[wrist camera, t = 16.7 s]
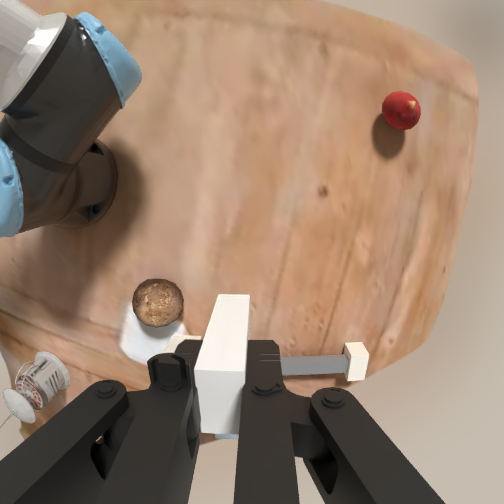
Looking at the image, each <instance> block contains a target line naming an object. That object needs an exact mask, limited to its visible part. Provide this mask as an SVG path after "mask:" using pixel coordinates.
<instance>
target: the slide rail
mask: <svg viewBox="0 0 504 504" xmlns="http://www.w3.org/2000/svg"><path fill="white" fill-rule="evenodd" d="M185 339H194V340H202V338H201V336H185V335H172V336H171V338H170V340H169V342H168V344H167V346H166V348H165V349H164V351H163V353H174V352H175V349H176V347H177V345H178V344H179V343H181V342H182V341H184V340H185ZM368 358H369V354H368V352H367V350H366V349H365V347H364V345H363V344H362V342H353V343H345V347H344V354H341V355H322V356H292V357H280V361H281V368H282V375H310V374H330V373H344V374H345V377H346V379H347V381H356V380H364V378H365V373H366V368H367V363H368Z"/></svg>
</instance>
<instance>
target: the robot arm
mask: <svg viewBox="0 0 504 504" xmlns="http://www.w3.org/2000/svg"><path fill="white" fill-rule="evenodd" d="M141 79H142V73H141V69H140V67H139V65H138V63H137V62H136V60H135V59H134V58H133V57H132V55H131V54H130V53H129V52H128V50H127V49H126V48H125V47H124V46H123V45H122V43H121V42H120V41H119V40H118V39H117V38H116V37H115V36H114V35H113V34H112V33H111V32H110V31H108V30H106V28H105V27H104V26H103V25H102V24H101V22H100V21H98V20H97V19H96V18H95V17H94V16H92V15H91V14H89V13H87V12H82V13H81V14H79V15H76V17H75V18H74V20H73V19H72V18H71V17H69V16H68V15H67V14H65V13H64V12H59V13H54V14H50V15H46V16H41V15H40V14H38V13H37V12H35V11H34V10H32V9H31V8H29V7H28V6H26V5H25V4H23V3H22V2H20V1H18V0H0V111H1V112H3V113H5V116H4V117H3V119H2V121H1V123H0V237H12V236H14V235H15V234H18V233H22V232H25V231H28V230H31V229H35V228H38V227H41V226H45V225H48V224H52V223H53V224H56V225H60V226H63V227H66V228H80V227H84V226H87V225H90V224H92V223H94V222H96V221H97V220H99V219H100V218H101V217H102V216H103V215H104V214H105V213H106V212H107V210H108V209H109V207H110V205H111V204H112V201H113V199H114V196H115V193H116V188H117V168H116V164H115V161H114V158H113V156H112V154H111V152H110V150H109V149H108V148H107V146H106V145H105V144H104V143H102V142H101V141H100V140H98V139H97V137H98V136H99V135H100V133H101V132H102V131H103V130H104V128H105V127H106V126H107V124H108V123H109V122H110V121H111V119H112V118H113V117H114V116H115V114H116V113H117V112H118V111H119V109H123V108H124V106H125V102H126V101H127V100H128V99H129V97H130V96H131V95H132V93H133V92H134V91H135V90H136V89H137V87H138V86H139V84H140V82H141ZM147 364H148V370H149V375H150V381H151V384H150V387H149V389H146V390H141V391H130V392H127V391H126V387H125V386H124V385H123V383H121V382H119V381H115V380H102V381H99V382H96V383H94V384H92V385H91V386H90V387H88V388H87V389H86V390H85V391H84V392H82V393H81V394H80V395H79V396H78V397H76V398H75V399H74V400H73V401H72V402H70V403H69V404H68V405H67V406H66V407H64V408H63V409H62V410H61V411H60V412H58V413H57V414H56V415H55V416H54V417H52V418H51V419H50V420H49V421H48V422H46V423H45V424H44V425H43V426H42V427H40V428H39V429H38V430H37V431H36V432H34V433H33V434H32V435H31V436H30V437H28V438H27V439H26V440H25V441H24V442H23V443H21V444H20V445H19V446H18V447H16V448H15V449H14V450H13V451H12V452H11V453H9V454H8V455H7V456H6V457H5V458H3V459H2V460H1V461H0V504H188V499H189V494H190V489H191V483H192V479H193V474H194V469H195V464H196V459H197V454H198V449H199V444H200V441H199V433H198V432H199V428H200V424H201V432H202V433H215V434H239V439H238V451H237V464H236V477H235V492H234V503H233V504H300V503H299V494H298V485H297V475H296V466H295V457H294V456H296V457H301V458H303V461H304V463H305V465H306V467H307V469H308V471H309V473H310V475H311V477H312V479H313V481H314V483H315V485H316V487H317V489H318V491H319V493H320V495H321V496H322V498H323V500H324V502H325V504H445V503H444V501H443V500H442V499H441V498H440V497H439V496H438V495H437V493H436V492H435V491H434V490H433V489H432V488H431V487H430V486H429V484H428V483H427V482H426V481H425V480H424V478H423V477H422V476H421V475H420V474H419V472H418V471H417V470H416V469H415V468H414V467H413V465H412V464H411V463H410V462H409V461H408V460H407V458H406V457H405V456H404V455H403V454H402V453H401V451H400V450H399V449H398V448H397V447H396V446H395V444H394V443H393V442H392V441H391V440H390V438H389V437H388V436H387V435H386V434H385V433H384V431H383V430H382V429H381V428H380V427H379V425H378V424H377V423H376V422H375V421H374V419H372V417H371V416H370V415H369V413H368V412H367V411H366V410H365V409H364V408H363V406H362V405H361V404H360V403H359V402H358V400H357V399H356V398H355V397H354V396H353V395H352V394H351V393H350V392H348V391H346V390H344V389H341V388H334V387H330V388H323V389H320V390H318V391H316V392H315V393H314V394H313V395H312V398H310V397H304V396H300V395H296V394H294V393H292V392H290V391H289V390H287V389H286V387H285V385H284V383H283V377H282V368H281V361H280V352H279V346H278V345H277V344H276V343H275V342H274V341H273V340H250V295H230V294H219V295H218V298H217V301H216V304H215V307H214V310H213V313H212V316H211V319H210V322H209V325H208V328H207V331H206V334H205V337H204V340H194V339H185V340H184V341H182V342H181V343H179V344H178V345H177V347H176V349H175V352H174V353H162V354H158V355H155V356H153V357H151V358H150V359H149V360H148V361H147ZM100 436H101V438H100V440H98V441H97V442H96V440H97V439H98V438H99V437H100Z"/></svg>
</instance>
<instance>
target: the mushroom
mask: <svg viewBox="0 0 504 504" xmlns="http://www.w3.org/2000/svg"><path fill="white" fill-rule="evenodd" d="M183 302H184V299H183V296H182V293H181V290H180V289H179V288H178V287H177V286H176V284H175V283H173V282H170V281H168V280H165V279H147V280H146V281H144V282H143V283H141V284H140V285H139V286H138V287H137V289H136V290H135V292H134V295H133V300H132V304H133V311H134V313H135V315H136V316H137V318H138V319H139V320H140V321H141V322H143V323H144V324H146V325H148V326H153V327H162V326H166V325H169V324H170V323H172V322H173V321H175V320H177V318H178V317H179V315H180V314H181V312H182V310H183Z"/></svg>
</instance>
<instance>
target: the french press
mask: <svg viewBox="0 0 504 504" xmlns="http://www.w3.org/2000/svg"><path fill="white" fill-rule="evenodd" d="M28 363H32V365H31V366H30V367H29V368H28V369H27V370H26V371H25V372H24V373H23V374H22V375H23V380H21V376H22V375H21V376H20V377H19V379H18V381H17V377H18V374H19V372H20V370H21V369H22V367H23V366H25V365H26V364H28ZM23 366H22V367H21V368H20V369H19V371H18V374H17V376H16V380H15V385H16V390H17V391H16V390H14V389H5V390H4V391H3V397H4V400H5V403H6V405H7V407H8V408H9V409H10V411H11V412H12V414H13V415H14V416H16V417H17V418H19V419H20V420H21V421H24V422H26V423H34V422H35V419H36V414H35V411H34V409H36V410H40V409H42V408H43V407H45V406H46V405H47V404H48V403H49V402H50V401H51V399H52V398H53V397H54V396H55V393H57V392H58V391H59V390H63V389H66V388H67V387H68V386H69V384H70V377H69V373H68V371H67V369H66V367H65V366H64V364H63V363H62V362H61V361H60V360H59V359H58V358H57V357H56V356H54V355H52V354H51V353H48V352H44V351H42V352H39V353H37V355H36V356H35V363H33V362H27V363H25V364H24V365H23ZM33 372H34V373H35V375H33V374H32V373H33ZM24 375H25V376H24ZM29 375H31V376H32V378H33V379H34V380H36V382H37V383H38V384H39V386H40V387H38V386H37V385H36V383H35V382H34V381H33V380H32V379H31V378H30V377H29ZM25 377H27V378H28V379H29V380H30V381H31V382H32V383H33V384H34V386H35V387H36V388H37V389H36V388H35V387H34V386H33V385H32V384H31V383H29V382H28V381H27V380H26V379H25ZM58 389H59V390H58ZM57 390H58V391H57ZM51 396H53V397H51ZM47 400H48V401H47ZM12 414H11V415H12ZM11 415H10V416H9V417H8V418H7V419H6V420H5V421H4V422H3V424H4V423H5V422H6V421H7V420H8V419H9V418H10V417H11ZM3 424H2V425H1V426H0V428H1V427H2V426H3Z"/></svg>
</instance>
